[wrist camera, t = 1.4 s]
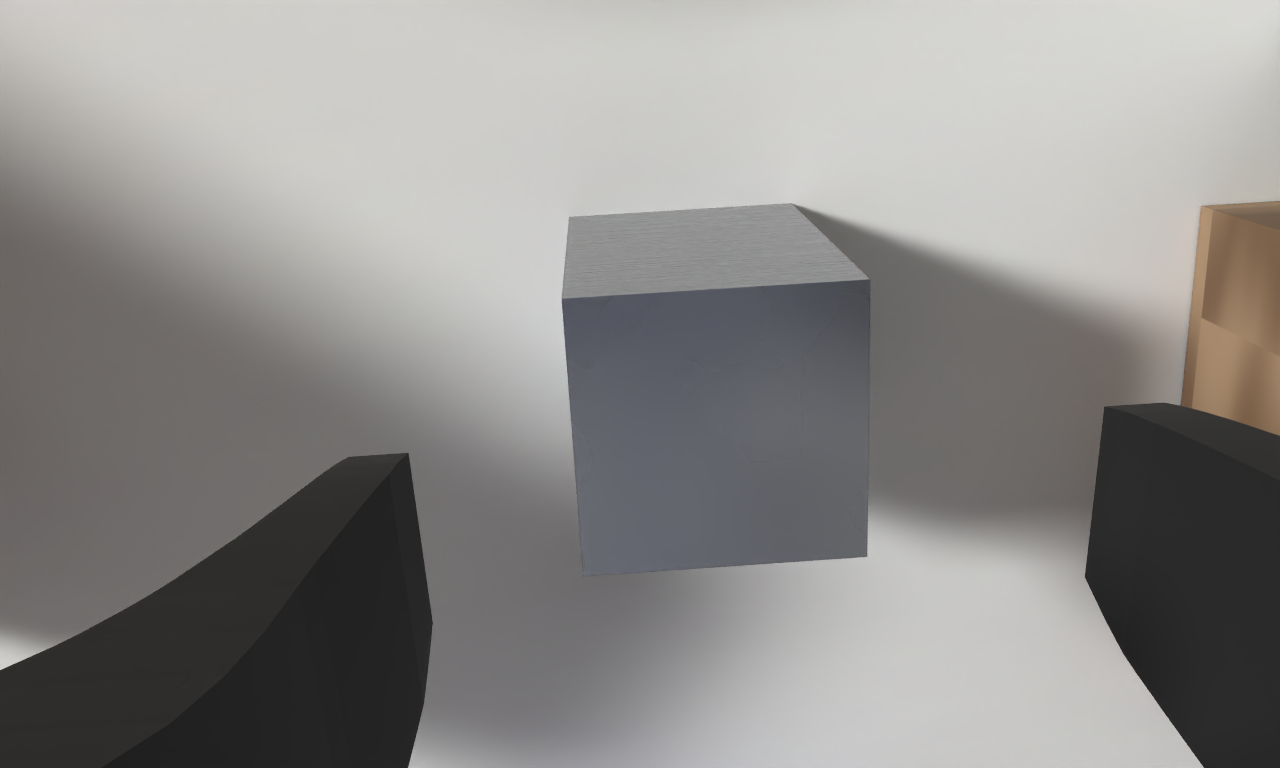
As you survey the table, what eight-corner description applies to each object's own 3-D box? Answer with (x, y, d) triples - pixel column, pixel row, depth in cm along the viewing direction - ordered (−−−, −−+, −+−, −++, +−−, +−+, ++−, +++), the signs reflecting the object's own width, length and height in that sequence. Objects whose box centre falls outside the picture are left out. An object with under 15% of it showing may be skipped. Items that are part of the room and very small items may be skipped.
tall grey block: (793, 412, 22) (867, 556, 16) (584, 426, 22) (583, 576, 16) (791, 203, 20) (870, 279, 15) (569, 216, 20) (561, 298, 15)
